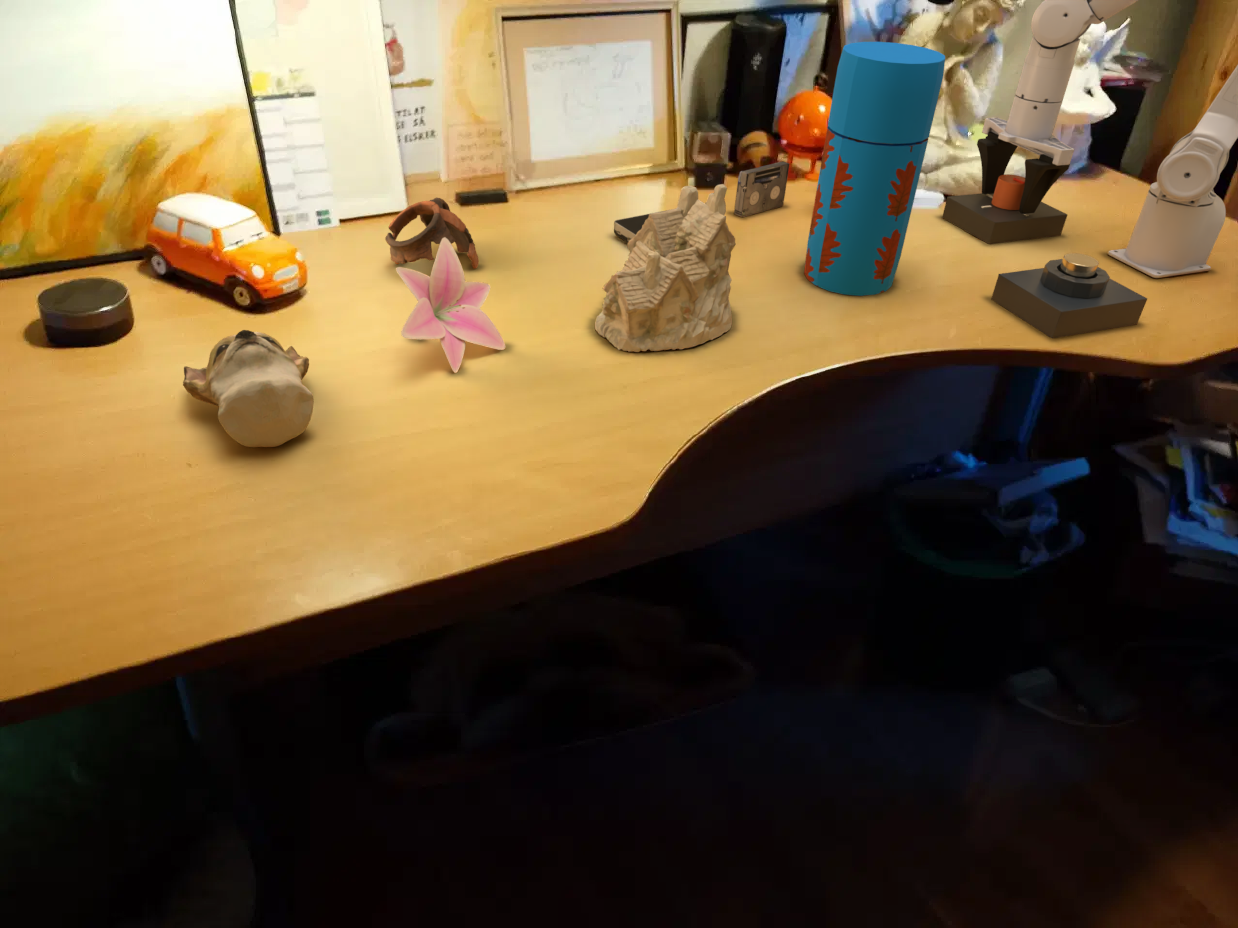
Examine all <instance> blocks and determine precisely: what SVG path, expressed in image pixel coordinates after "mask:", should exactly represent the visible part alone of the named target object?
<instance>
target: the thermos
mask: <svg viewBox="0 0 1238 928" xmlns="http://www.w3.org/2000/svg"><path fill="white" fill-rule="evenodd" d="M945 63H946V55H945V54H944V53H941V52H940V51H937V50H935V49H932V48H928V47H923V46H918V45H915V44H908V43H901V42H900V43H898V42H891V41H890V42H888V41H859V42H858V41H857V42H850V43H848V44H845V45H844V46H843V48H842V51H841V54H840V57H839V61H838V65H837V69H836V75H835V81H834V87H833V92H832V99H831V103H830V110H829V116H828V121H827V127H826V128H827V129H826V132H825V138H824V140H825V141H824V145H823V151H822V155H821V163H820V168H819V174H818V180H817V187H816V191H815V196H814V197H815V198H814V202H813V207H812V208H813V209H812V215H811V221H810V228H809V232H808V238H807V244H806V254H805V260H804V261H805V263H804V272H803V274H804V276H805V277H806V279H807V281H808V282H810V283H812V284H813V285H814V286H816V287H817V288H821V289H823V290H826V291H828V292H831V293H836V294H841V295H844V296H858V297H863V296H874V295H878V294H882V293H885V292H888V290H889V289H890V288H892V287H893V284H894V280H895V277H896V273H897V270H898V267H899V263H900V260H901V257H902V253H903V249H904V248H903V247H904V244H905V240H906V235H907V231H908V227H909V223H910V218H911V214H912V210H913V205H914V202H915V197H916V193H917V188H918V184H919V180H920V176H921V172H922V169H923V163H924V159H925V155H926V151H927V147H928V142H929V138H930V135H931V130H932V126H933V121H934V117H935V113H936V109H937V104H938V100H939V96H940V92H941V87H942V84H943V79H944V72H945Z"/></svg>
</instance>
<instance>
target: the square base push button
mask: <svg viewBox="0 0 1238 928" xmlns="http://www.w3.org/2000/svg"><path fill="white" fill-rule="evenodd" d="M1062 260H1063V258H1057V259H1051V260H1049V261H1047V262H1046V263H1045V264H1044V267H1040V268H1039V267H1038V268H1033V269H1024V270H1017V271H1010V272H1009V271H1008V272H1003V273H998V275H997V279H996V282H995V286H994V288H993V292H992V295H991V298H990V300H991V301H993V302H994V303H996V304H998V305H999V306H1000V307H1002V308H1004V309H1005V310H1007V311H1008V312H1010V313H1011V314H1013V315H1014V316H1016V317H1018V318H1020V319H1021V320H1022V321H1024V322H1026V324H1029V325H1030V326H1032V327H1033V328H1035V329H1037V330H1038V331H1039V332H1041V333H1043V334H1044V335H1046V336H1047V337H1049V338H1051V339H1057V338H1065V337H1069V336H1074V335H1075V336H1076V335H1082V334H1087V333H1095V332H1099V331H1100V332H1101V331H1106V330H1112V329H1118V328H1125V327H1131V326H1136V325H1138V323H1139V320H1140V319H1141V315H1142V313H1143V311H1144V309H1145V306H1146V304H1147V301H1148V297H1146V296H1144V295H1142V294H1140V293H1138V292H1137V291H1134V290H1133V289H1131V288H1129V287H1127V286H1125V285H1123V284H1121V283H1120V282H1118V281H1116V280H1113V279H1112V278H1111V276H1110V275H1109V274H1108V272H1107V271H1106V270H1105V269H1103V268H1101V267H1099V266H1098V267H1097V270H1096V272H1095V275H1094V278H1092V279H1081V278H1074V277H1071V276H1067V275H1065V274H1063V273H1062V272H1060V271H1059V269H1060V266H1061V263H1062Z"/></svg>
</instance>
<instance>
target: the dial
mask: <svg viewBox="0 0 1238 928" xmlns="http://www.w3.org/2000/svg"><path fill="white" fill-rule="evenodd" d="M1024 185H1025V176H1021V175H1018V174H1017V175H1016V174H1004V175H1000V176H999V178H998V181H997V185H996V188H995V192H994V195H993V199H992V204H993V205H994V206H996V207H998V208H1002V209H1007V210H1019V208H1020V202H1021V198H1022V194H1023V190H1024Z"/></svg>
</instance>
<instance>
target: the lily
mask: <svg viewBox="0 0 1238 928" xmlns="http://www.w3.org/2000/svg"><path fill="white" fill-rule="evenodd" d="M435 255H436V256H435V259H434V262H433V265H432V268H431V272H430V275H428V274H425V273H423V272H421V271H418V270H414V269H411V268H407V267H402V266H397V267H396V268H395V270H396V273H397V274H398V276H399V277H400V278H401V280H402V282H403V283H404V285H405V286H406V288H407V289H408V290H409V291H410V292H411V294H412V296H413V297H414V298H415V299H416V301H417V302H416V304H415V305H414V308H413V309H412V311H411V312H410V314H409V315H408V317H407V319H406V320H405V322H404V324H403V326H402V328H401V331H400V335H401V337H403V338H404V339H408V340H418V341H420V340H439V342H440V345H441V347H442V349H443V352H444V354H445V357H446V359H447V361H448V364H449V365H450V367H451V370H452V372H454V373H455V374H456V373H457V372H458V371H459V369H460V367H461V365H462V362H463V359H464V355H465V350H466V342H468V343H471V344H474V345H479V346H483V347H486V348H490V349H494V350H499V351H503V350H505V349H506V343H505V341H504V338H503V336H502V334H501V333H500V332H499V330H498V328H497V326H496V325H495V324H494V322H493V321H492V319H491V318H490V316H488V314H487V313H486V312H484V311H483V309H481V308H482V306H483V305H484V303H485V302H486V300H487V298H488V296H489V293H490V291H491V285H490V284H489V283H488V282H484V281H483V282H482V281H466V278H465V277H466V276H465V272H464V269H463V265H462V264H461V263H462V262H461V261H460V259H459V256H458V253H457V252H456V250H455V248H454V246H453V245H452V244H451V243H450V242H449V240H448V239H447V238H445V237H444V238H442V240H441V242H440V244H438V249H437V252H436V254H435Z"/></svg>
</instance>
